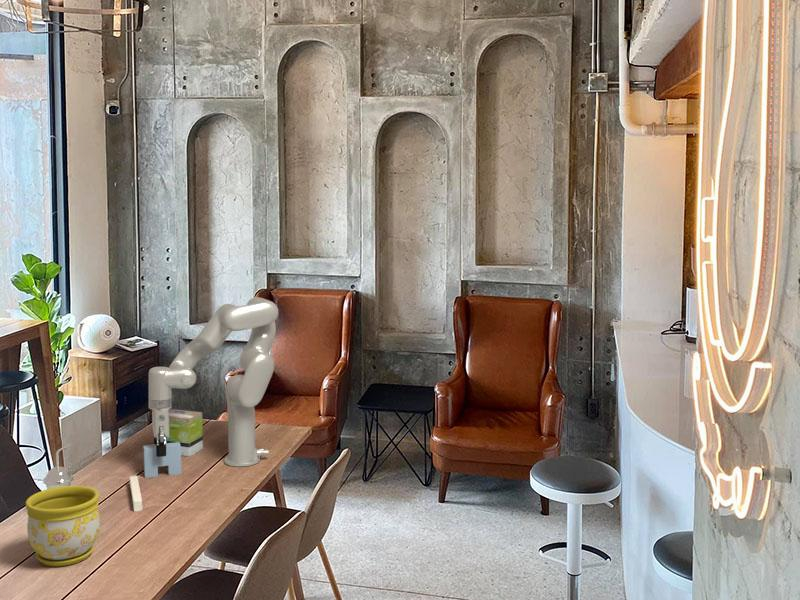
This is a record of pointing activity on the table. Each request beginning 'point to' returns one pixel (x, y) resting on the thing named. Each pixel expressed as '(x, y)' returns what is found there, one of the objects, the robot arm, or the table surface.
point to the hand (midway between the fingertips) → (159, 452)
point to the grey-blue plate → (162, 459)
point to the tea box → (186, 430)
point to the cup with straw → (58, 474)
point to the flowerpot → (63, 524)
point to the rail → (135, 493)
